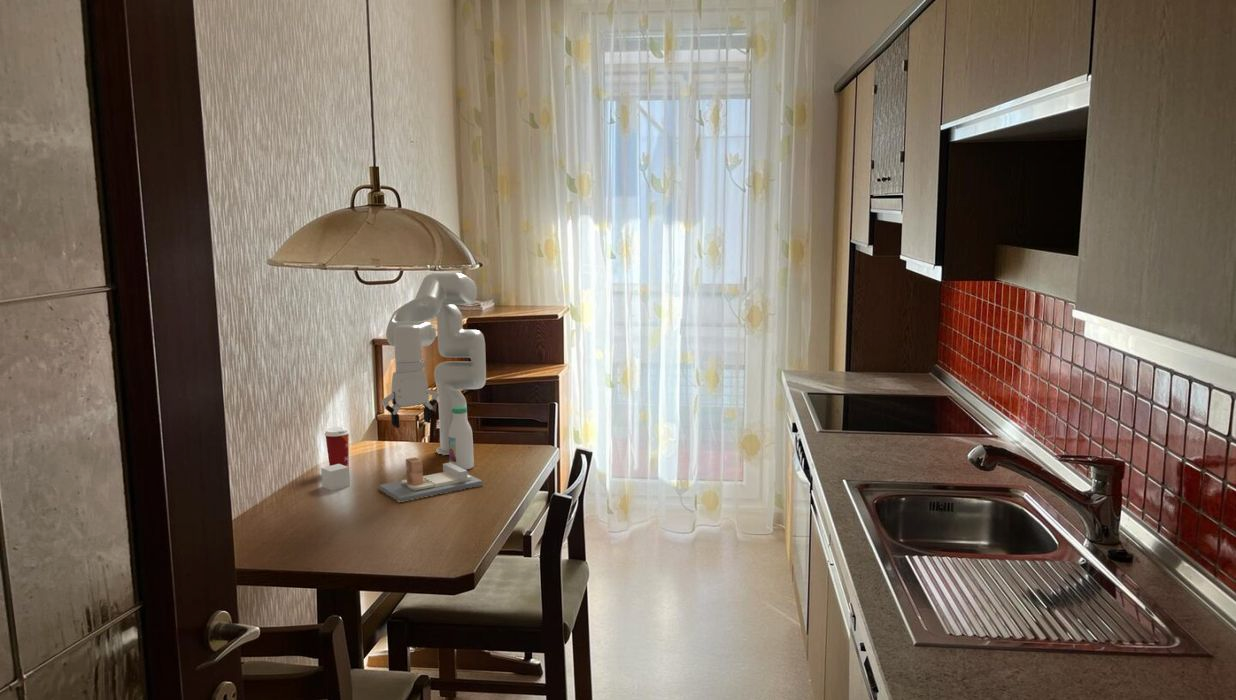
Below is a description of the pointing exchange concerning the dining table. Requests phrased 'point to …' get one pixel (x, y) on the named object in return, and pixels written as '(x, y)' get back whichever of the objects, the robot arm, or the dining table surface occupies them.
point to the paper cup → (338, 445)
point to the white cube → (335, 477)
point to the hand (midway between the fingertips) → (412, 424)
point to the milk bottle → (461, 439)
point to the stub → (415, 475)
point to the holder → (442, 482)
